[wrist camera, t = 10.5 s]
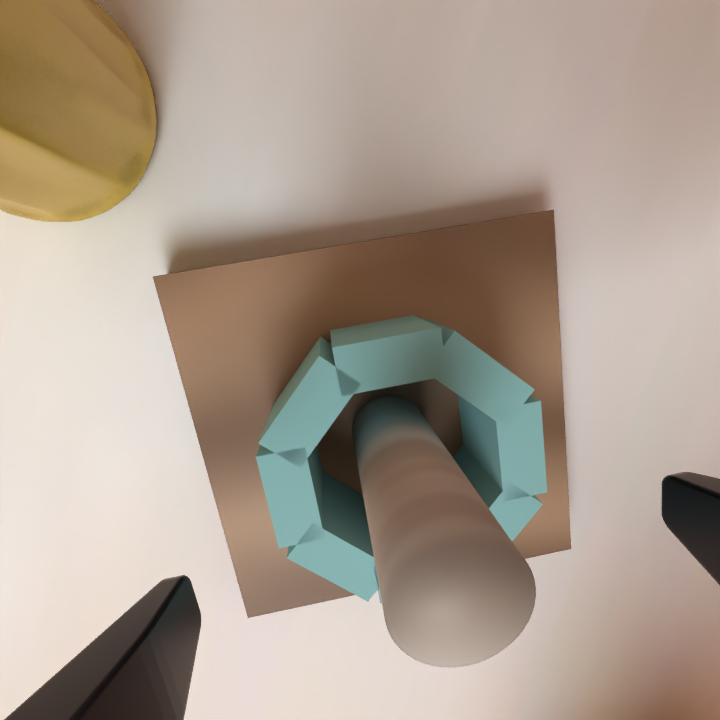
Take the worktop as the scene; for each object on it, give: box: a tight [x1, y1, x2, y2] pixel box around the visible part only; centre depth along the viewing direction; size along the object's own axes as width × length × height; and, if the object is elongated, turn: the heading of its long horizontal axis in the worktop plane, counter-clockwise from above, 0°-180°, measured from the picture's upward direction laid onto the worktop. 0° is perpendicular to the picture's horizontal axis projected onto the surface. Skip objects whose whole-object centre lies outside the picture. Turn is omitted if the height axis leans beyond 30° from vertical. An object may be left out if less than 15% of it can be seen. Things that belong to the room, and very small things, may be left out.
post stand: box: [153, 210, 571, 667], centre depth 10 cm, size 12×12×8 cm
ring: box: [256, 315, 547, 603], centre depth 11 cm, size 7×7×3 cm
